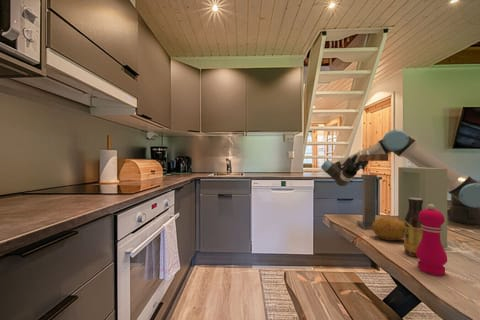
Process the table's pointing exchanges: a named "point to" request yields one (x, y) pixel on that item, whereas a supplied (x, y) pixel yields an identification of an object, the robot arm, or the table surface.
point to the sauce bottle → (413, 226)
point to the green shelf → (423, 191)
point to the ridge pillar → (368, 201)
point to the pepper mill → (431, 242)
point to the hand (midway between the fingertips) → (364, 152)
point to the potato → (388, 228)
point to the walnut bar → (374, 157)
